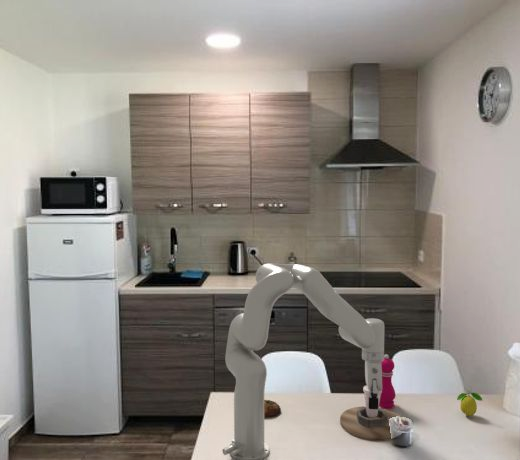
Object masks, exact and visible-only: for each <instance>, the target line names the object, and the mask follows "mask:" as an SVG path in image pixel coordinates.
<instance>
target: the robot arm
mask: <svg viewBox="0 0 520 460" xmlns="http://www.w3.org/2000/svg"><path fill="white" fill-rule="evenodd" d="M255 281H256V284H254V286H252V287H251V289H250V290H249V292H248V295H247V297H246V299H245V303H244V308H243V309H244V310H243V313H240V314H238V315H236V316H235V317H234V318H233V319H232V320H231V323H230V326H229V328H228V329H229V330H228V336H227V341H226V342H227V343H226V349H225V355H224V357H225V358H224V360H225V365H226V368H227V370H228V371H229V372H230V373H231V374H232V375H233V377H234V378H235V387H234V393H233V411H234V412H233V415H234V416H233V417H234V418H233V421H234V423H233V427H234V428H233V431H234V438H233V439H231V443H230V444H229V446H227V447H224V448H223V449H222V451H221V452H222V454H223V455H224V456H226V455H229V454H230V456H231V457H232V458H234V459H235V460H263V459H265V458H266V457H267V456H268V455H269V453H270V445H269V444H268V443H267V442H266V441H265V417H264V400H265V392H266V391H265V389H266V387H265V386H266V381H267V376H268V375H267V374H268V372H267V366H266V364H265V362H264V361H263V358H261V357H260V356H259V355H258V354H257V353H255V352H254V351H260V350H261V349H263V348H264V347H265V345H267V341H268V337H269V332H270V331H269V329H270V321H271V316H272V310H273V307H274V305H275V304H276V303H275V302H277V300H278V299H279V298H281V297H282V296H283V295H285V294H287V293H288V292H290V291H291V289H296V290H298V291H300V292H301V293H302V294H303V295H304V296H305V297H306V298H307V299H308V300H309V301H310V302H311V303H312V305H313V306H314V307H315V308H316V309H317V310H318V311H319V313H321V314H322V316H323V317H325V318H326V319H328V320H330V321H331V322H332V323H335V324H336V325H337V326H338V333H339V336H340V337H341V338H342V339H343V340H344V341H347V342H349V343H350V344H351V345H352V344H353V345H354V346H356V347H358V348H360V349H361V359H362V360H363V361H364V377H365V384H366V385H367V388H368V389H369V393H370V397H369V409H378V389H379V390H382V365H381V362H382V361H383V360H384V355H385V323H384V321H383V320H381V319H379V318H373V317H372V318H369V317H368V318H364V316H362V314H361V313H360V312H359V311H357V310H356V309H355V308H354V307H352V305H350V303H348V302H347V300H345V299H344V298H343V297H341V295H340V294H339V293H338V292H337V291H336V290H335V289H334V288H333V286H332V285H331V284H330V282H329V281H328V280H327V279H326V278H325V277H324V276H323V274H322V273H321V272H320V271H319V270H317V269H316V268H314V267H312V266H307V265H304V264H298V263H297V264H295V263H271V262H269V263H264V264H262V265H260V266H259V267H258V269H257V270H256V272H255ZM371 387H373V389H371ZM371 391H373V392H372V393H371Z"/></svg>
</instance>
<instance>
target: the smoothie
mask: <svg viewBox="0 0 520 460" xmlns="http://www.w3.org/2000/svg"><path fill="white" fill-rule="evenodd" d="M362 388H363V389H362V391H363V393H364V401H365V407H366V412H367V416H369V417H377V415H378V409H379V408H380V407H379V402H380V395H381V393H382V390H379V389H378V409H369V397H370V393H369V389H368V388H367V384H366V385H364V386H363V387H362ZM371 389H373V387H371ZM372 392H373V391H371V393H372Z"/></svg>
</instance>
